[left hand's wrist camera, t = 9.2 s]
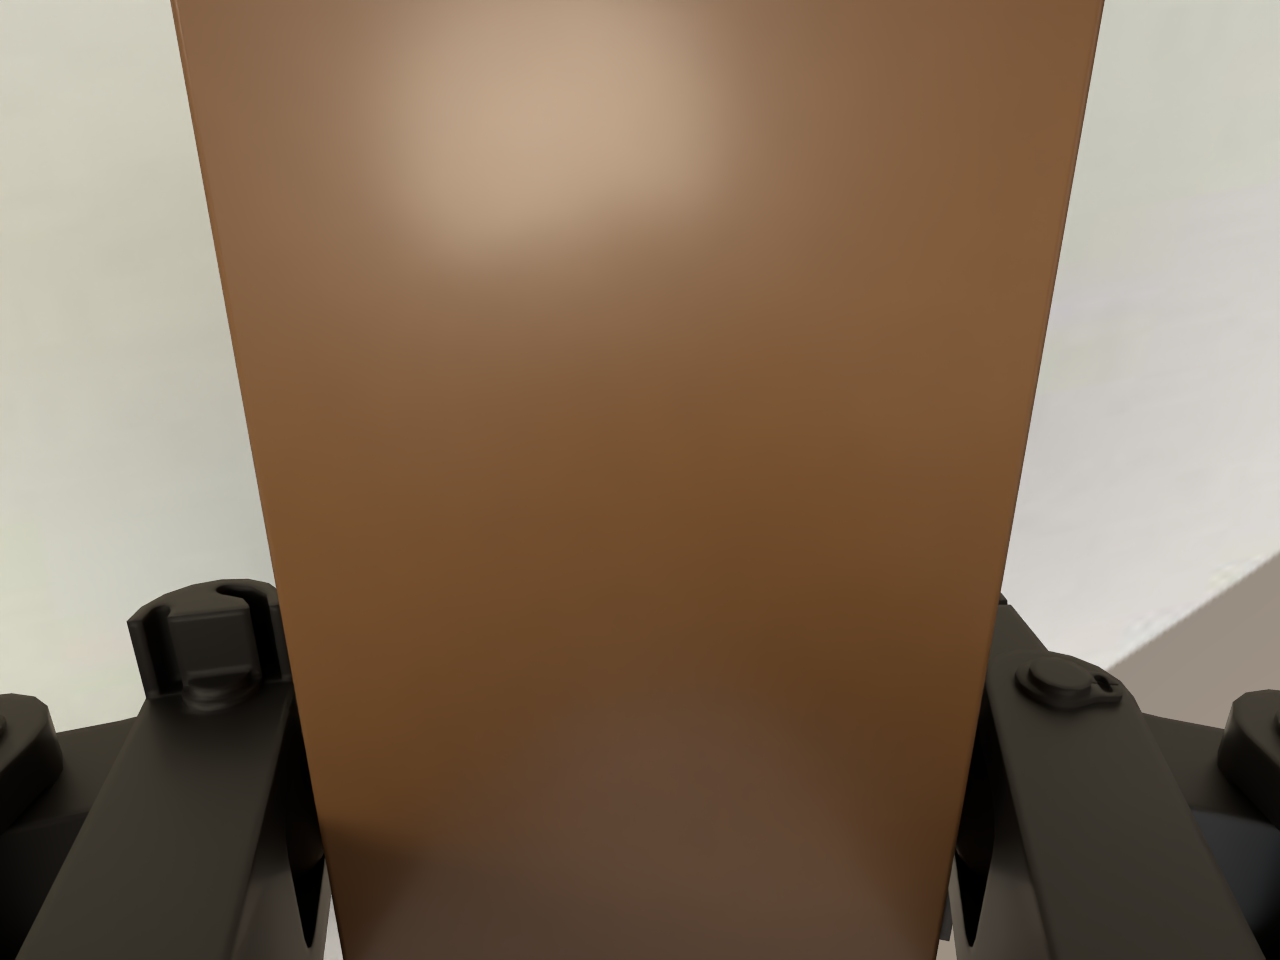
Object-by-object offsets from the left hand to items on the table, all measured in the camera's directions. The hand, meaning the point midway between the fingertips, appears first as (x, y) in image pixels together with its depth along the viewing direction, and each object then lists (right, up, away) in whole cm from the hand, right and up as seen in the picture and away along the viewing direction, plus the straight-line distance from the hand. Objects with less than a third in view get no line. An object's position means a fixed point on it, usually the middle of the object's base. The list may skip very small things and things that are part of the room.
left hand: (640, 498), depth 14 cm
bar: (0, +9, -3) cm, 9 cm away
